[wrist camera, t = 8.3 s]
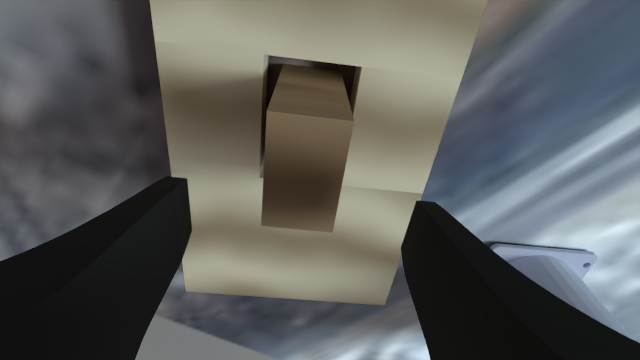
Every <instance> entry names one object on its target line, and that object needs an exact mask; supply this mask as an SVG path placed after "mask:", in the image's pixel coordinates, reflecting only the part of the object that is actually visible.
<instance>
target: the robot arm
mask: <svg viewBox="0 0 640 360" xmlns="http://www.w3.org/2000/svg"><path fill="white" fill-rule="evenodd" d="M191 232H192V223H191V213H190V202H189V192H188V181H187V178H179V177H168V176H167V177H165V178H163V179H161V180H159V181H157V182H156V183H154V184H152V185H150V186H149V187H147V188H145V189H144V190H142V191H141V192H139V193H137V194H136V195H134V196H132V197H131V198H129V199H127V200H125V201H124V202H122V203H120V204H119V205H117V206H115V207H114V208H112V209H110V210H108V211H107V212H105V213H103V214H101V215H99V216H97V217H95V218H94V219H92V220H90V221H88V222H86V223H84V224H82V225H81V226H79V227H77V228H75V229H73V230H71V231H69V232H67V233H65V234H63V235H61V236H59V237H57V238H54V239H52V240H50V241H48V242H46V243H43V244H41V245H39V246H37V247H34V248H32V249H30V250H28V251H25V252H23V253H20V254H18V255H15V256H13V257H10V258H8V259H5V260H2V261H0V360H135V358H136V355H137V352H138V350H139V347H140V345H141V342H142V340H143V337H144V335H145V333H146V330H147V329H148V326H149V324H150V322H151V320H152V318H153V316H154V314H155V312H156V310H157V308H158V306H159V304H160V302H161V301H162V299H163V297H164V295H165V293H166V291H167V289H168V287H169V285H170V283H171V281H172V279H173V277H174V275H175V273H176V271H177V269H178V267H179V265H180V263H181V261H182V259H183V256H184V253H185V250H186V248H187V245H188V242H189V239H190V236H191ZM401 254H402V260H403V266H404V272H405V277H406V280H407V283H408V287H409V290H410V293H411V296H412V300H413V303H414V306H415V309H416V312H417V315H418V318H419V321H420V325H421V328H422V331H423V334H424V337H425V340H426V344H427V347H428V351H429V355H430V359H431V360H640V343H638V342H636V341H635V340H634V339H633V338H632V337H631V336H630V335H629V333H628V332H627V331H626V330H625V329H624V328H623V327H622V325H621V324H620V323H619V322H618V321H617V320H616V319H615V317H614V316H613V315H612V314H611V313H610V312H609V311H608V309H607V308H606V307H605V306H604V305H603V304H602V303H601V301H600V300H599V299H598V298H597V297H596V296H595V295H594V293H593V292H592V291H591V290H590V289H589V288H588V287H587V285H586V284H585V283H584V282H583V281H582V279H583V277H584V276H585V275H586V273H587V272H588V271H589V269H590V268H591V267H592V265H593V264H594V263H595V262H596V260H597V256H596V255H595V254H594V253H593V252H589V251H577V250H566V249H554V248H543V247H532V246H520V245H509V244H494V245H492V246H491V247H490V248H489V247H488V246H487V245H485V244H484V243H483V242H482V241H481V240H479V239H478V238H477V237H476V236H475V235H473V234H472V233H471V232H470V231H469V230H468V229H466V228H465V227H464V226H463V225H462V224H461V223H460V222H458V221H457V220H456V219H455V218H454V217H453V216H451V215H450V214H449V213H448V212H447V211H446V210H444V209H443V208H442V207H441V206H439V205H438V204H437V203H435V202H427V201H417V200H416V203H415V206H414V209H413V212H412V215H411V218H410V221H409V224H408V227H407V230H406V233H405V236H404V239H403V242H402V245H401Z"/></svg>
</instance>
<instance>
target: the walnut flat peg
mask: <svg viewBox="0 0 640 360" xmlns="http://www.w3.org/2000/svg"><path fill="white" fill-rule="evenodd" d="M353 126H354V118H353V115H352V111H351V107H350V103H349V100H348V96H347V92H346V89H345V85H344V81H343V77H342V74H341V71H333V70H325V69H318V68H310V67H303V66H295V65H287V64H283V67H282V69H281V72H280V75H279V78H278V81H277V84H276V86H275V89H274V92H273V95H272V98H271V100H270V103H269V106H268V109H267V117H266V136H265V156H264V176H263V196H262V215H261V226H266V227H277V228H287V229H298V230H309V231H320V232H330V233H333V228H334V223H335V218H336V213H337V208H338V203H339V197H340V192H341V187H342V182H343V177H344V172H345V167H346V162H347V156H348V151H349V146H350V141H351V136H352V131H353Z"/></svg>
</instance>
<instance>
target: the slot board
mask: <svg viewBox="0 0 640 360" xmlns="http://www.w3.org/2000/svg"><path fill="white" fill-rule="evenodd" d="M487 2H488V0H150V7H151V15H152V23H153V31H154V39H155V47H156V55H157V64H158V72H159V80H160V88H161V96H162V104H163V112H164V120H165V128H166V136H167V144H168V152H169V160H170V168H171V176H172V177H179V178H187V181H188V192H189V202H190V213H191V223H192V232H191V236H190V239H189V242H188V245H187V248H186V250H185V253H184V256H183V259H182V264H183V272H184V280H185V288H186V291H188V292H202V293H216V294H230V295H244V296H258V297H272V298H286V299H300V300H314V301H329V302H343V303H357V304H371V305H385V303H386V300H387V297H388V294H389V291H390V288H391V285H392V282H393V279H394V276H395V274H396V271H397V268H398V265H399V262H400V259H401V256H402V254H401V245H402V242H403V239H404V236H405V233H406V230H407V227H408V224H409V221H410V218H411V215H412V212H413V209H414V206H415V203H416V200H417V201H420V200H421V197H422V194H423V191H424V188H425V185H426V182H427V179H428V176H429V173H430V170H431V167H432V164H433V162H434V159H435V156H436V153H437V150H438V147H439V144H440V141H441V138H442V135H443V132H444V129H445V126H446V123H447V120H448V117H449V114H450V111H451V108H452V106H453V103H454V100H455V97H456V94H457V91H458V88H459V85H460V82H461V79H462V76H463V73H464V70H465V67H466V64H467V61H468V58H469V55H470V53H471V50H472V47H473V44H474V41H475V38H476V35H477V32H478V29H479V26H480V23H481V20H482V17H483V14H484V11H485V8H486V5H487ZM268 55H271V56H279V57H287V58H295V59H303V60H311V61H319V62H327V63H335V64H343V65H351V66H356V68H355V74H354V80H353V85H352V91H351V97H350V107H351V111H352V115H353V118H354V126H353V131H352V136H351V141H350V146H349V151H348V156H347V162H346V167H345V172H344V177H343V182H342V187H341V192H340V197H339V203H338V208H337V213H336V218H335V223H334V228H333V233H330V232H320V231H309V230H298V229H287V228H277V227H266V226H261V215H262V196H263V176H264V150H265V126H266V101H267V77H268Z"/></svg>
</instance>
